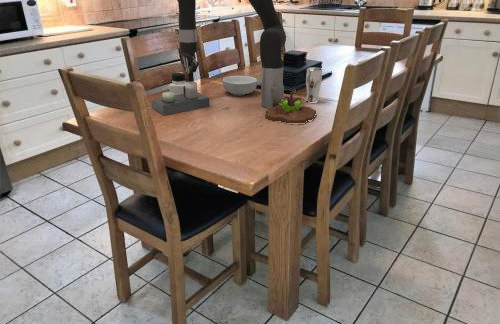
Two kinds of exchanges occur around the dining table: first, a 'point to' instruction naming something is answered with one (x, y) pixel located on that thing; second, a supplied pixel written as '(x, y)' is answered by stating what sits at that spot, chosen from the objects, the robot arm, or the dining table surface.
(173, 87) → the medicine bottle
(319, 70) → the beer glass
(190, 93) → the whitish grey jar
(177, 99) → the mount
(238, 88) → the cereal bowl
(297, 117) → the plant
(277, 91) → the robot arm
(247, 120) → the dining table surface
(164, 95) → the knob
